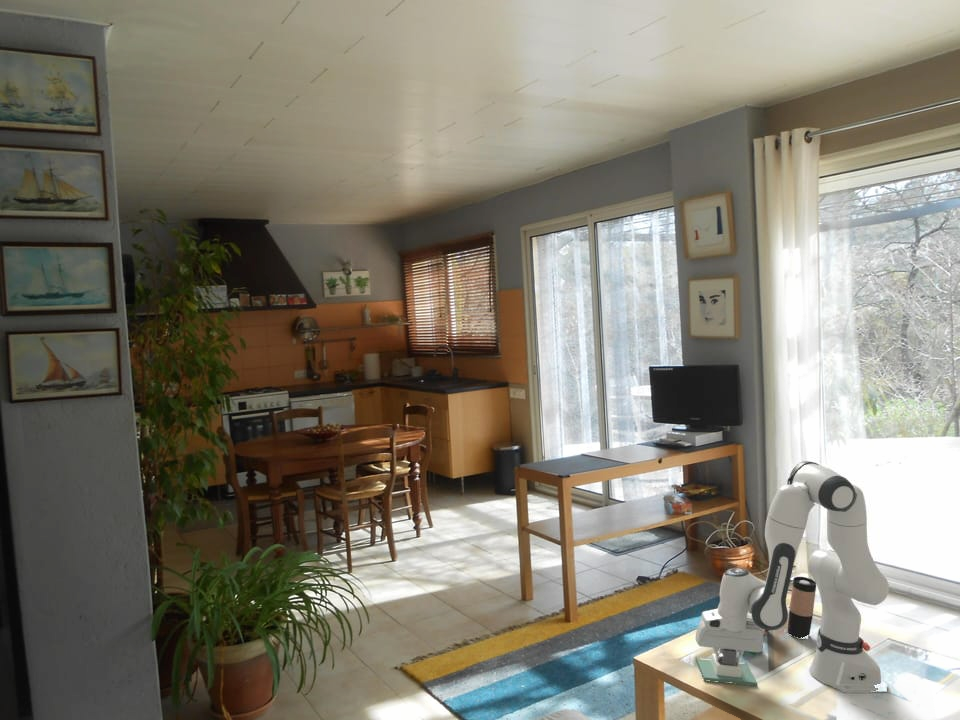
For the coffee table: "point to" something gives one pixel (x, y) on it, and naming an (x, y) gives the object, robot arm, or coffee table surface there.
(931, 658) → the coffee table surface
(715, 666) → the header board
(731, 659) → the plug
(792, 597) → the travel mug
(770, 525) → the robot arm
